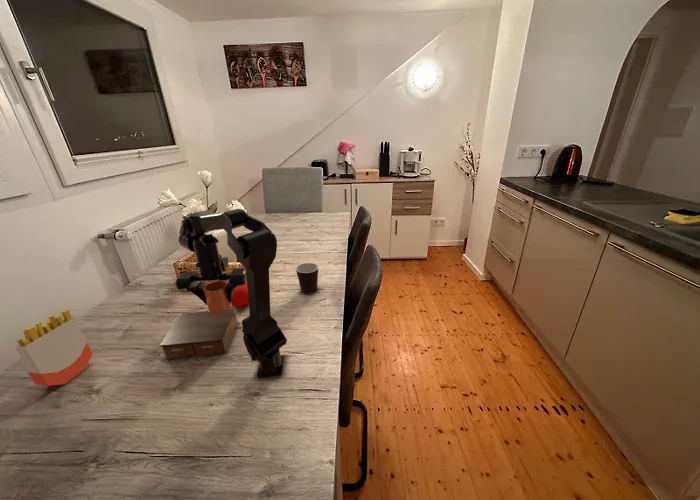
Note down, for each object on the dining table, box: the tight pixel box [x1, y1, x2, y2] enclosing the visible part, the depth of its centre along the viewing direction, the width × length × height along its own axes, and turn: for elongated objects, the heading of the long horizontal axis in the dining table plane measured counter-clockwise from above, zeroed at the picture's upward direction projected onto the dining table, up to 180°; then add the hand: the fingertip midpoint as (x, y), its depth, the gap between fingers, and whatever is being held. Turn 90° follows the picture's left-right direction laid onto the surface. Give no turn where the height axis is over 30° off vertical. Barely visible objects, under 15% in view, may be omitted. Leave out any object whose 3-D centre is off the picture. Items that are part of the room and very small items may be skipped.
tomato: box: [231, 281, 249, 308], centre depth 103 cm, size 9×10×8 cm
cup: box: [203, 280, 233, 314], centre depth 83 cm, size 6×6×8 cm
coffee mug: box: [295, 262, 319, 295], centre depth 111 cm, size 12×9×10 cm
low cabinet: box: [159, 308, 238, 360], centre depth 85 cm, size 15×17×6 cm
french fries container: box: [16, 309, 93, 387], centre depth 72 cm, size 5×11×18 cm, turn 171°
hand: (219, 302), depth 84 cm, fingers closed on cup, 6 cm apart
